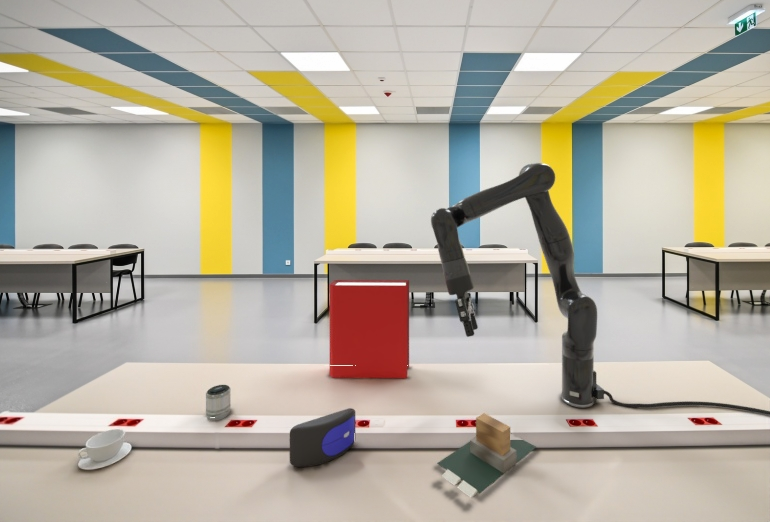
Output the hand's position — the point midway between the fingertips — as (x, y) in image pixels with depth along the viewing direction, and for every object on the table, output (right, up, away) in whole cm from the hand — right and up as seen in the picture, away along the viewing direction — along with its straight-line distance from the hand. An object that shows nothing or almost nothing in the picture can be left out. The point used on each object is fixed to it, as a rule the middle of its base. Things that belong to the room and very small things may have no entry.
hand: (472, 332), depth 113 cm
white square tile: (-8, -24, -25) cm, 35 cm away
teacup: (-91, -25, -15) cm, 96 cm away
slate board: (+2, -25, -16) cm, 30 cm away
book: (-34, -25, +29) cm, 51 cm away
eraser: (+3, -24, -17) cm, 30 cm away
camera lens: (-73, -25, +3) cm, 77 cm away
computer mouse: (-38, -25, -15) cm, 48 cm away
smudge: (-4, -24, -28) cm, 37 cm away
